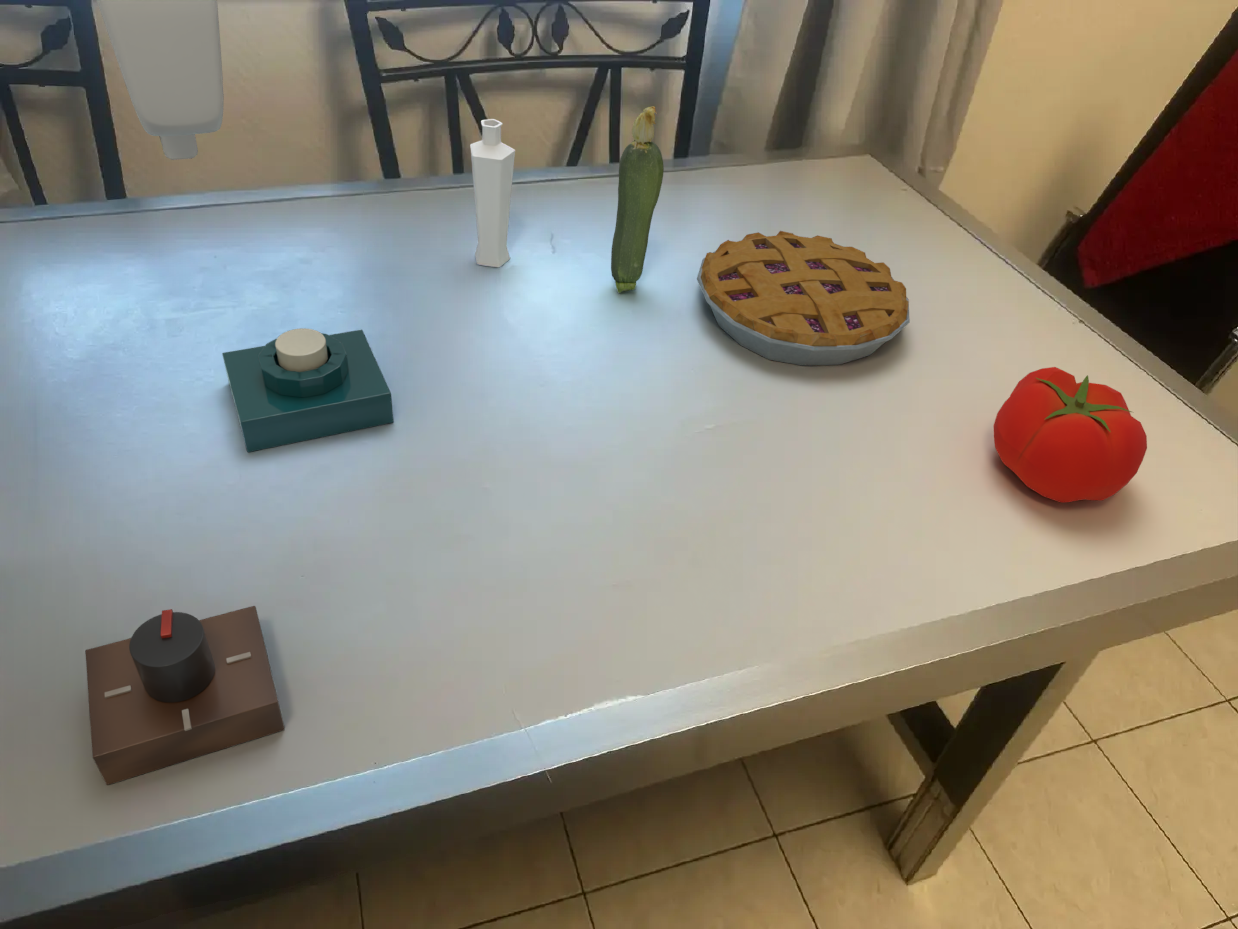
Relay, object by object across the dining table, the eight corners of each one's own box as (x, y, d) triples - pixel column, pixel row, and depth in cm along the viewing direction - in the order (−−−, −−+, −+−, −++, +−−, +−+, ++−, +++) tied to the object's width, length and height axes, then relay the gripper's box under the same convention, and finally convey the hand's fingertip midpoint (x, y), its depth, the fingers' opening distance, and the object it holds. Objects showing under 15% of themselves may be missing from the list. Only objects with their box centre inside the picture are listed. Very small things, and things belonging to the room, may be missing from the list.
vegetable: (606, 277, 103) (622, 91, 90) (645, 278, 103) (668, 93, 90) (610, 299, 100) (628, 109, 86) (651, 300, 100) (675, 111, 87)
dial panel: (106, 787, 55) (91, 757, 53) (98, 677, 60) (84, 646, 58) (285, 731, 59) (277, 701, 57) (262, 632, 64) (254, 602, 62)
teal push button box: (247, 452, 77) (236, 404, 74) (228, 382, 84) (217, 334, 81) (393, 422, 82) (389, 375, 78) (365, 358, 88) (360, 312, 85)
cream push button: (283, 376, 78) (279, 359, 77) (274, 349, 80) (270, 332, 79) (332, 367, 79) (330, 350, 78) (322, 341, 82) (320, 324, 81)
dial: (215, 695, 57) (202, 656, 54) (141, 709, 56) (125, 669, 53) (215, 642, 60) (203, 603, 57) (145, 654, 58) (130, 615, 56)
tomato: (1152, 519, 81) (1201, 442, 75) (1018, 526, 79) (1058, 447, 73) (1076, 424, 90) (1115, 349, 85) (955, 428, 88) (986, 352, 82)
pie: (942, 360, 96) (958, 318, 93) (749, 390, 90) (759, 346, 86) (835, 253, 111) (845, 214, 108) (662, 273, 105) (668, 231, 101)
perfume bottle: (460, 256, 103) (457, 120, 94) (491, 244, 106) (491, 110, 96) (488, 273, 101) (488, 136, 91) (519, 261, 104) (522, 125, 94)
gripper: (43, -174, 51) (105, 85, 60) (60, -76, 38) (136, 237, 47) (169, -168, 54) (210, 80, 63) (226, -74, 41) (269, 223, 50)
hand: (179, 149), depth 55 cm, fingers closed
